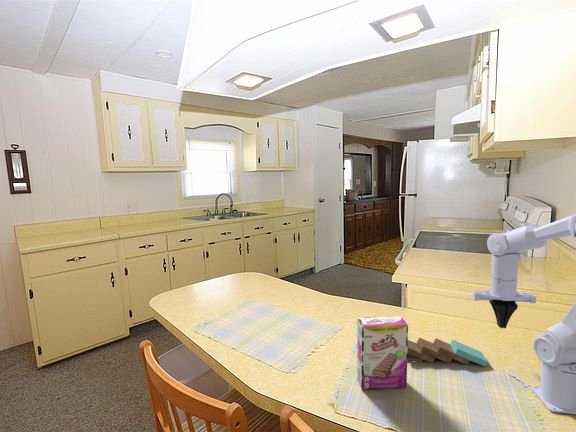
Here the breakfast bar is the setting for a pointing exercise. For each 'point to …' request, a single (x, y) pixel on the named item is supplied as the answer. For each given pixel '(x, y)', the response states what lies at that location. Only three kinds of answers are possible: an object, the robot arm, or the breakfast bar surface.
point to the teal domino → (468, 353)
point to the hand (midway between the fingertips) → (501, 326)
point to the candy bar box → (382, 352)
